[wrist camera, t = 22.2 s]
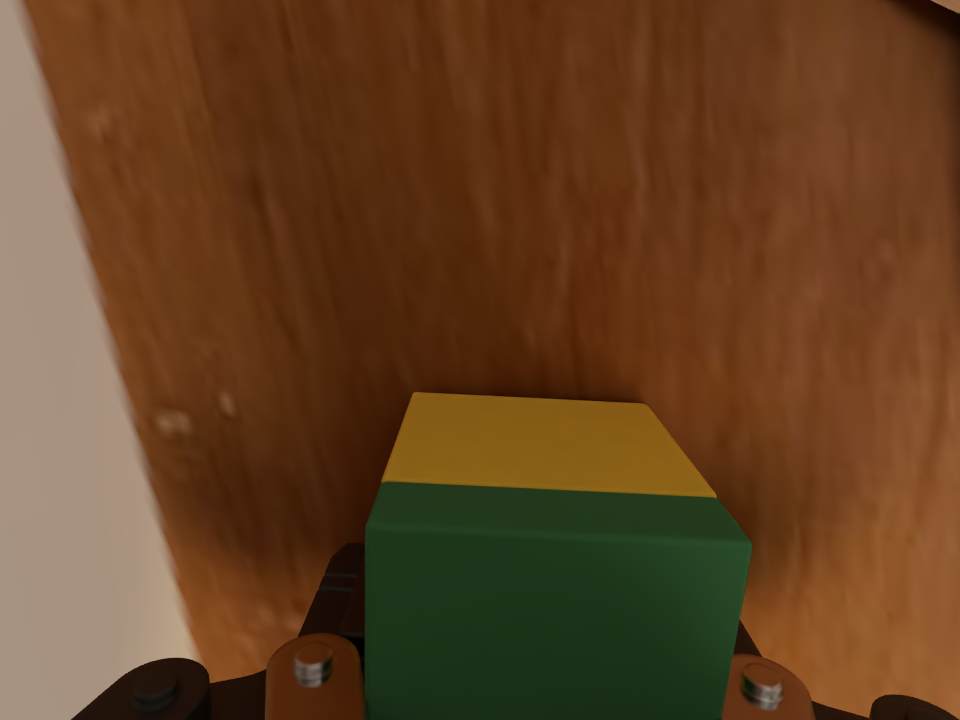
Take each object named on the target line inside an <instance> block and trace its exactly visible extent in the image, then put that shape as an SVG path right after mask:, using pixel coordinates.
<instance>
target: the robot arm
mask: <svg viewBox="0 0 960 720" xmlns="http://www.w3.org/2000/svg"><path fill="white" fill-rule="evenodd" d="M71 720H370V716H369V710H368V704H367V700H366V699H365V544H359V543H348V544H346V545H345V546H344V547H343V548H342V549H340V550H339V551H338V552H337V553H336V554H335V555H333V556H332V558H331V560H330V562H329V565H328V567H327V569H326V572H325V576H324V577H323V579H322V581H321V584H320V586H319V591H317V593H316V595H315V598H314V600H313V602H312V605H311V607H310V609H309V612H308V614H307V616H306V619H305V621H304V624H303V626H302V628H301V631H300V633H299V635H298V637H297V638H295V639H293V640H291V641H289V642H287V643H285V644H284V645H282V646H281V647H280V648H279V649H277V651H276V652H275V653H274V654H273V655H272V657H271V658H270V660H269V662H268V664H267V669H265V670H263V671H261V672H258V673H256V674H253V675H249V676H245V677H241V678H236V679H231V680H225V681H220V682H215V683H210V680H209V674H208V672H207V670H206V669H205V668H204V667H203V665H201V664H200V663H198V662H196V661H193V660H191V659H185V658H167V659H160V660H157V661H152V662H149V663H146V664H144V665H141V666H139V667H137V668H135V669H133V670H131V671H130V672H128V673H126V674H125V675H124V676H122V677H121V678H120V679H118V680H117V681H116V682H115V683H114V684H112V685H111V686H110V687H109V688H108V689H106V690H105V691H104V692H103V693H102V694H101V695H99V696H98V697H97V698H96V699H95V700H93V701H92V702H91V703H90V704H89V705H88V706H86V708H84V709H83V710H82V711H81V712H79V713H78V714H77V715H76V716H75V717H74V718H72V719H71ZM716 720H959V719H957V718H956V717H955V716H953V715H951V714H950V713H948V712H947V711H945V710H943V709H941V708H939V707H937V706H935V705H933V704H931V703H928V702H926V701H923V700H920V699H917V698H914V697H910V696H904V695H885V696H882V697H879V698H878V699H876V700H875V701H874V702H873V704H872V707H871V711H870V715H869V718H867V717H863V716H860V715H856V714H853V713H849V712H846V711H842V710H838V709H835V708H831V707H828V706H825V705H822V704H819V703H816V702H814V701H812V700H811V697H810V695H809V692H808V690H807V688H806V687H805V685H804V684H803V683H802V682H801V680H800V679H798V678H797V677H796V676H795V675H794V674H793V673H792V672H790V671H789V670H788V669H786V668H784V667H783V666H781V665H779V664H777V663H775V662H774V661H771V660H769V659H766V658H763V657H762V656H761V654H760V652H759V651H758V649H757V647H756V646H755V644H754V642H753V641H752V639H751V637H750V636H749V634H748V632H747V631H746V629H745V627H744V626H743V624H742V622H741V621H740V620H739V625H738V631H737V636H736V642H735V647H734V653H733V658H732V664H731V669H730V675H729V680H728V686H727V691H726V697H725V702H724V708H723V713H722V717H721V718H718V719H716Z"/></svg>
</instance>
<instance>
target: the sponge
mask: <svg viewBox="0 0 960 720" xmlns="http://www.w3.org/2000/svg"><path fill="white" fill-rule="evenodd" d="M751 554H752V543H751V541H750V539H749V538H748V537H747V535H746V534H745V533H744V531H743V530H742V529H741V528H740V526H739V525H738V524H737V522H736V521H735V520H734V518H733V517H732V516H731V514H730V513H729V512H728V511H727V509H726V508H725V507H724V505H723V504H722V503H721V501H720V500H719V499H716V494H715V492H714V491H713V490H712V488H711V487H710V486H709V484H708V483H707V482H706V481H705V479H704V478H703V477H702V475H701V474H700V473H699V471H698V470H697V469H696V468H695V466H694V465H693V464H692V462H691V461H690V460H689V458H688V457H687V456H686V455H685V453H684V452H683V451H682V449H681V448H680V447H679V445H678V444H677V443H676V442H675V440H674V439H673V438H672V436H671V435H670V434H669V432H668V431H667V430H666V429H665V427H664V426H663V425H662V423H661V422H660V421H659V419H658V418H657V417H656V416H655V414H654V413H653V412H652V410H651V409H650V408H649V406H648V405H647V404H644V403H623V402H603V401H583V400H563V399H543V398H523V397H503V396H483V395H463V394H443V393H423V392H415V393H413V394H412V397H411V400H410V402H409V405H408V408H407V411H406V414H405V416H404V419H403V422H402V425H401V427H400V430H399V433H398V436H397V439H396V441H395V444H394V447H393V450H392V452H391V455H390V458H389V461H388V464H387V466H386V469H385V472H384V475H383V477H382V480H381V485H380V488H379V490H378V493H377V496H376V499H375V501H374V504H373V507H372V510H371V513H370V515H369V518H368V521H367V524H366V527H365V699H366V700H367V704H368V710H369V716H370V720H716V719H718V718H721V717H722V713H723V708H724V702H725V697H726V691H727V686H728V680H729V675H730V669H731V664H732V658H733V653H734V647H735V642H736V636H737V631H738V625H739V620H740V614H741V609H742V603H743V598H744V592H745V587H746V581H747V576H748V570H749V565H750V559H751Z"/></svg>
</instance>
